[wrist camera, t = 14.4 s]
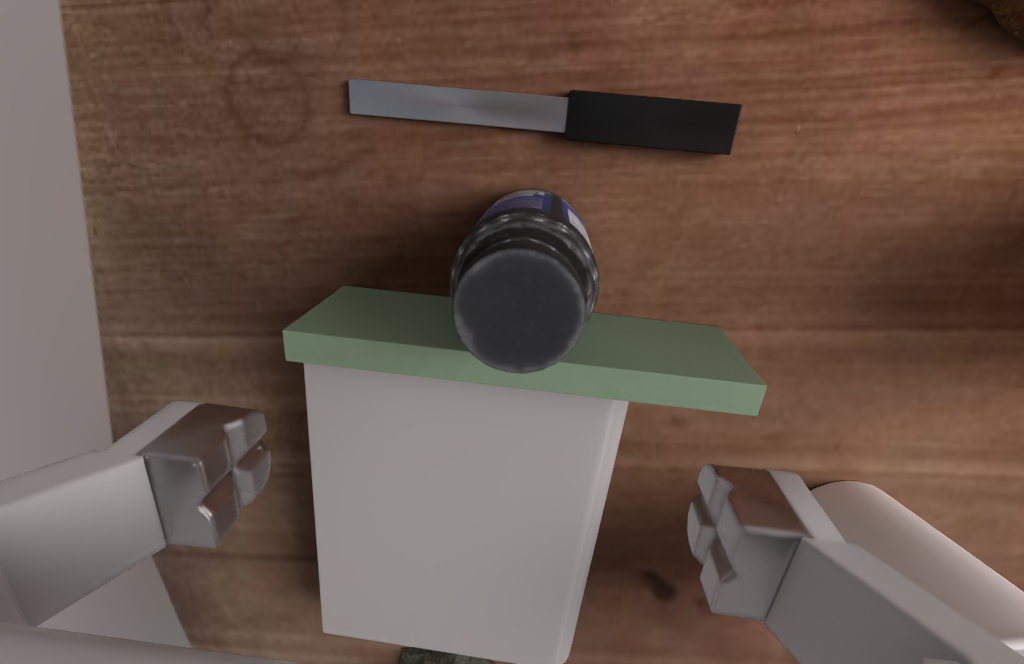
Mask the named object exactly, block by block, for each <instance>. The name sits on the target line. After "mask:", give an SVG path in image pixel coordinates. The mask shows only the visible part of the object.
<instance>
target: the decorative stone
mask: <svg viewBox="0 0 1024 664" xmlns="http://www.w3.org/2000/svg"><path fill="white" fill-rule="evenodd" d="M968 1H973V2H977V3H980V4H983V5H984V6H986V7H988V8H990V9H991V10H992V12H993V14H994V16H995V18H996V20H997V21H998V23H999V24H1000V25H1001V26H1002V27H1003V28H1004V29H1005V30H1006V31H1008V32H1009V33H1011V34H1013V35H1014V36H1015V37H1017V38H1020V39H1023V40H1024V0H968Z"/></svg>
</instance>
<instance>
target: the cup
mask: <svg viewBox="0 0 1024 664" xmlns="http://www.w3.org/2000/svg"><path fill="white" fill-rule="evenodd" d="M810 492H811V493H812V495H813V496H814V498H815V499H816V501H817V502H818V503H819V505H820V506H821V508H822V509H823V510H824V512H825V513H826V515H827V516H828V518H829V519H830V520H831V522H832V523H833V525H834V526H835V527H836V529H837V530H838V532H839V533H840V534H841V536H842V537H843V539H844V540H845V542H846V543H853V544H857V545H858V546H860V547H861V548H863V549H864V550H866V551H867V552H869V553H870V554H872V555H873V556H875V557H876V558H878V559H879V560H881V561H882V562H884V563H885V564H887V565H888V566H890V567H891V568H893V569H894V570H896V571H897V572H899V573H900V574H902V575H903V576H904V577H906V578H907V579H909V580H910V581H912V582H913V583H915V584H916V585H918V586H919V587H921V588H922V589H924V590H925V591H927V592H928V593H930V594H931V595H933V596H934V597H936V598H937V599H939V600H940V601H942V602H943V603H945V604H946V605H948V606H949V607H951V608H952V609H954V610H955V611H956V612H958V613H959V614H961V615H962V616H964V617H965V618H967V619H968V620H970V621H971V622H973V623H974V624H976V625H977V626H979V627H980V628H982V629H983V630H985V631H986V632H988V633H989V634H991V635H992V636H994V637H995V638H997V639H998V640H1000V641H1001V642H1003V643H1004V644H1006V645H1007V646H1008V647H1010V648H1011V649H1013V650H1014V651H1016V652H1017V653H1019V654H1020V655H1022V656H1023V657H1024V592H1023V591H1021V590H1020V589H1019V588H1017V587H1016V586H1014V585H1013V584H1012V583H1010V582H1009V581H1007V580H1006V579H1005V578H1003V577H1002V576H1000V575H999V574H998V573H996V572H995V571H994V570H992V569H991V568H989V567H988V566H987V565H985V564H984V563H982V562H981V561H980V560H978V559H977V558H975V557H974V556H973V555H971V554H970V553H968V552H967V551H966V550H964V549H963V548H961V547H960V546H959V545H957V544H956V543H954V542H953V541H952V540H950V539H949V538H947V537H946V536H945V535H943V534H942V533H940V532H939V531H938V530H936V529H935V528H934V527H932V526H931V525H929V524H928V523H927V522H925V521H924V520H922V519H921V518H920V517H918V516H917V515H915V514H914V513H913V512H911V511H910V510H908V509H907V508H906V507H904V506H903V505H901V504H900V503H899V502H897V501H896V500H894V499H893V498H892V497H890V496H889V495H887V494H886V493H885V492H883V491H881V490H880V489H878V488H877V487H875V486H873V485H870V484H866V483H863V482H855V481H841V482H833V483H829V484H826V485H823V486H819V487H817V488H815V489H813V490H811V491H810Z"/></svg>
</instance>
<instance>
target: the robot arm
mask: <svg viewBox="0 0 1024 664" xmlns="http://www.w3.org/2000/svg"><path fill="white" fill-rule="evenodd" d="M266 431H267V428H266V423H265V418H264V415H263V414H262V413H261V412H259V411H258V410H253V409H246V408H239V407H231V406H224V405H217V404H210V403H202V402H194V401H185V400H179V401H172V402H171V403H169V404H168V405H167V406H165V407H164V408H162V409H161V410H160V411H158V412H157V413H155V414H154V415H153V416H151V417H150V418H149V419H147V420H146V421H144V422H143V423H142V424H140V425H139V426H137V427H136V428H135V429H133V430H132V431H130V432H129V433H128V434H126V435H125V436H123V437H122V438H121V439H119V440H118V441H116V442H115V443H114V444H112V445H111V446H110V447H108V448H107V449H105V450H104V451H95V450H93V451H90V452H87V453H84V454H81V455H78V456H75V457H72V458H69V459H66V460H63V461H60V462H57V463H54V464H51V465H48V466H45V467H42V468H39V469H36V470H33V471H30V472H27V473H24V474H21V475H18V476H15V477H12V478H9V479H6V480H2V481H0V664H301V663H294V662H287V661H280V660H273V659H265V658H258V657H251V656H244V655H236V654H229V653H222V652H215V651H208V650H200V649H193V648H186V647H179V646H170V645H164V644H156V643H149V642H142V641H135V640H128V639H121V638H114V637H106V636H99V635H91V634H84V633H77V632H70V631H63V630H55V629H48V628H41V627H36V626H38V625H39V624H41V623H43V622H44V621H46V620H47V619H49V618H51V617H52V616H54V615H56V614H57V613H59V612H61V611H62V610H64V609H65V608H67V607H69V606H70V605H72V604H74V603H75V602H77V601H78V600H80V599H82V598H83V597H85V596H87V595H88V594H90V593H91V592H93V591H95V590H96V589H98V588H100V587H101V586H102V585H104V584H106V583H108V582H109V581H111V580H112V579H114V578H116V577H117V576H119V575H120V574H122V573H124V572H125V571H127V570H129V569H130V568H132V567H134V566H135V565H137V564H138V563H140V562H142V561H143V560H145V559H147V558H148V557H150V556H151V555H153V554H155V553H156V552H158V551H160V550H161V549H163V548H164V547H166V546H167V544H177V545H188V546H198V547H208V548H217V547H218V546H219V544H220V543H221V542H222V541H223V539H224V538H225V537H226V536H227V535H228V533H229V532H230V531H231V530H232V528H233V527H234V526H235V525H236V523H237V522H238V521H239V520H240V512H239V508H241V507H243V506H245V505H247V504H249V503H251V502H252V501H254V500H255V499H256V498H257V497H258V495H259V494H260V493H261V491H262V490H263V489H264V487H265V484H266V482H267V479H268V476H269V474H270V466H271V456H270V450H269V448H268V447H267V446H266V445H265V444H264V443H263V441H262V440H261V437H262V436H263V435H264V433H265V432H266ZM697 482H698V484H699V487H700V489H701V492H702V493H701V494H700V495H699V496H697V497H696V498H695V499H694V500H692V501H691V505H690V509H689V513H688V524H687V533H688V539H689V545H690V548H691V551H692V554H693V556H694V557H695V558H696V559H697V560H698V561H699V562H700V563H701V564H702V565H704V566H703V569H702V572H701V575H700V579H701V582H702V585H703V588H704V591H705V594H706V597H707V600H708V603H709V606H710V609H711V612H712V613H717V614H723V615H729V616H736V617H742V618H748V619H755V620H761V621H765V623H764V624H765V625H766V626H767V627H768V628H769V629H770V631H771V632H772V633H773V634H774V635H775V636H776V637H777V638H778V640H779V641H780V642H781V643H782V644H783V645H784V646H785V647H786V648H787V650H788V651H789V652H790V653H791V654H792V655H793V656H794V657H795V659H796V660H797V661H798V662H799V663H800V664H1024V657H1023V656H1022V655H1020V654H1019V653H1017V652H1016V651H1014V650H1013V649H1011V648H1010V647H1008V646H1007V645H1006V644H1004V643H1003V642H1001V641H1000V640H998V639H997V638H995V637H994V636H992V635H991V634H989V633H988V632H986V631H985V630H983V629H982V628H980V627H979V626H977V625H976V624H974V623H973V622H971V621H970V620H968V619H967V618H965V617H964V616H962V615H961V614H959V613H958V612H956V611H955V610H954V609H952V608H951V607H949V606H948V605H946V604H945V603H943V602H942V601H940V600H939V599H937V598H936V597H934V596H933V595H931V594H930V593H928V592H927V591H925V590H924V589H922V588H921V587H919V586H918V585H916V584H915V583H913V582H912V581H910V580H909V579H907V578H906V577H904V576H903V575H902V574H900V573H899V572H897V571H896V570H894V569H893V568H891V567H890V566H888V565H887V564H885V563H884V562H882V561H881V560H879V559H878V558H876V557H875V556H873V555H872V554H870V553H869V552H867V551H866V550H864V549H863V548H861V547H860V546H858V545H857V544H853V543H846V542H845V540H844V539H843V537H842V536H841V534H840V533H839V532H838V530H837V529H836V527H835V526H834V525H833V523H832V522H831V520H830V519H829V518H828V516H827V515H826V513H825V512H824V510H823V509H822V508H821V506H820V505H819V503H818V502H817V501H816V499H815V498H814V496H813V495H812V493H811V492H810V491H809V489H808V488H807V486H806V485H805V484H804V482H803V481H802V479H801V478H800V477H799V476H798V475H797V474H795V473H794V472H791V471H779V470H768V469H763V470H759V469H750V468H741V467H732V466H723V465H714V464H705V465H704V467H703V468H702V470H701V472H700V475H699V478H698V481H697ZM166 543H167V544H166Z"/></svg>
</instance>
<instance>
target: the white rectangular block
mask: <svg viewBox="0 0 1024 664" xmlns="http://www.w3.org/2000/svg"><path fill="white" fill-rule="evenodd" d="M304 376H305V390H306V404H307V418H308V432H309V446H310V459H311V473H312V487H313V501H314V515H315V529H316V543H317V556H318V570H319V584H320V598H321V612H322V626H323V632H324V633H330V634H336V635H342V636H348V637H354V638H361V639H367V640H373V641H379V642H385V643H392V644H398V645H404V646H410V647H416V648H423V649H429V650H435V651H441V652H447V653H454V654H460V655H466V656H472V657H478V658H485V659H491V660H497V661H503V662H509V663H516V664H563V663H564V662H565V661H566V659H567V658H568V656H569V653H570V649H571V645H572V641H573V636H574V632H575V628H576V624H577V619H578V615H579V611H580V607H581V602H582V598H583V594H584V590H585V585H586V581H587V577H588V573H589V569H590V564H591V560H592V556H593V552H594V547H595V543H596V539H597V535H598V530H599V526H600V522H601V518H602V513H603V509H604V505H605V501H606V497H607V492H608V488H609V484H610V480H611V475H612V471H613V467H614V463H615V458H616V454H617V450H618V446H619V441H620V437H621V433H622V429H623V425H624V420H625V416H626V412H627V408H628V403H629V401H623V400H614V399H606V398H597V397H589V396H580V395H572V394H563V393H555V392H546V391H538V390H529V389H521V388H512V387H504V386H495V385H487V384H478V383H470V382H461V381H453V380H444V379H436V378H427V377H419V376H410V375H402V374H393V373H385V372H376V371H368V370H359V369H351V368H342V367H334V366H325V365H317V364H308V363H304Z"/></svg>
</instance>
